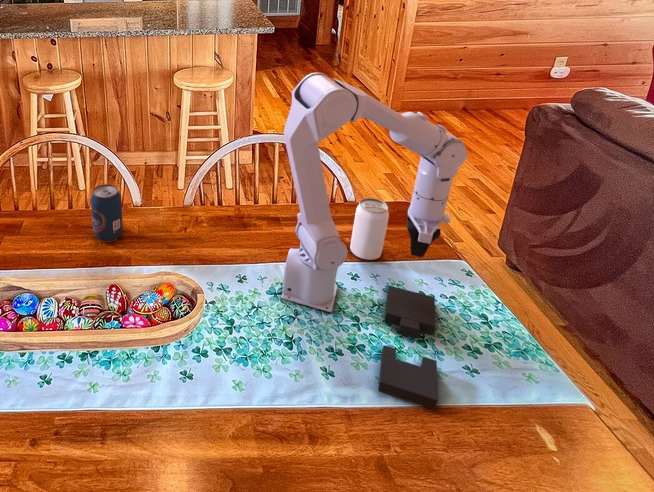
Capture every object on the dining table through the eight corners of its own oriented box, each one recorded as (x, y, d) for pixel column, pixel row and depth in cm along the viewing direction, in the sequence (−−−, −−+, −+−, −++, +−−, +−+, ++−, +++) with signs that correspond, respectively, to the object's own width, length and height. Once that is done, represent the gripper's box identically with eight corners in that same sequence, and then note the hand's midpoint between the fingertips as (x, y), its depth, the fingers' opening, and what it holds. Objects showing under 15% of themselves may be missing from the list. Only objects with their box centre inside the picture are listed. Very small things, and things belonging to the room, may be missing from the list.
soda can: (87, 234, 119) (83, 190, 114) (111, 222, 123) (108, 179, 118) (105, 247, 114) (102, 202, 109) (129, 234, 119) (127, 190, 114)
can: (383, 262, 108) (393, 214, 103) (351, 259, 109) (359, 211, 104) (378, 244, 113) (387, 198, 108) (347, 241, 114) (355, 195, 110)
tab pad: (383, 328, 91) (385, 320, 90) (386, 293, 99) (388, 285, 98) (433, 343, 88) (435, 334, 87) (432, 305, 96) (434, 296, 95)
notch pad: (378, 390, 80) (380, 381, 79) (381, 353, 86) (383, 344, 85) (435, 409, 76) (437, 400, 76) (434, 369, 83) (436, 360, 82)
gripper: (457, 217, 85) (441, 281, 91) (453, 178, 97) (438, 237, 103) (411, 208, 88) (398, 271, 94) (413, 172, 100) (400, 229, 106)
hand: (416, 252), depth 99 cm, fingers closed
